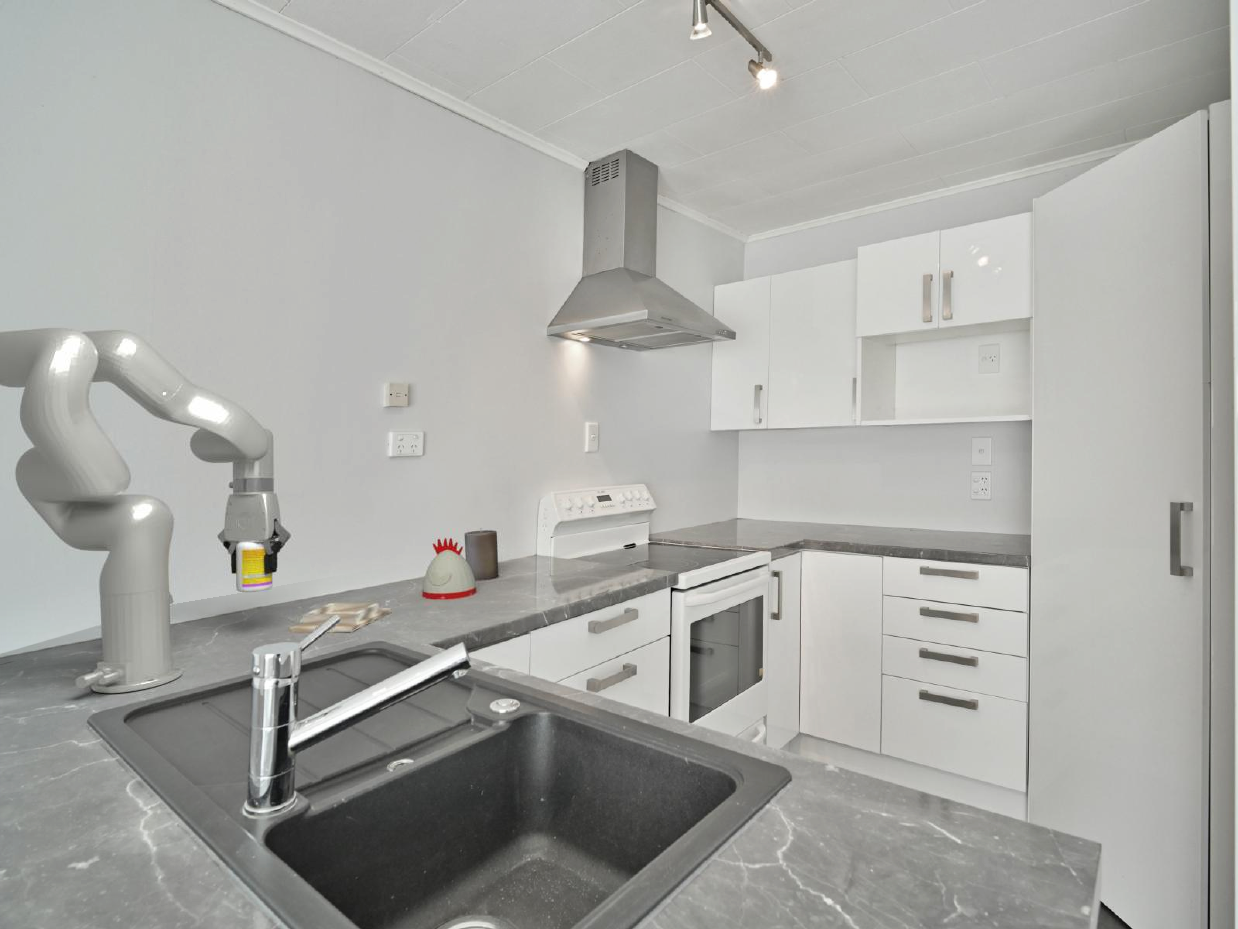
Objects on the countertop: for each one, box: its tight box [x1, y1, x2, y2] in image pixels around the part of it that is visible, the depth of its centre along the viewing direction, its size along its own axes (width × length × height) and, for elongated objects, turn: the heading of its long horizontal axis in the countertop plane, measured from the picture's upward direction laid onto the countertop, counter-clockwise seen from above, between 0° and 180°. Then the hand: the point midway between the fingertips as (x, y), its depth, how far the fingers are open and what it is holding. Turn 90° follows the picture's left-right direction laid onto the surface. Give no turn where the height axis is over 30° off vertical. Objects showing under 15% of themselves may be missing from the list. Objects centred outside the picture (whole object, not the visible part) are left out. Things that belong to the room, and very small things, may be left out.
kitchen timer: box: [421, 537, 477, 601], centre depth 179 cm, size 14×14×15 cm
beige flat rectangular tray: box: [289, 601, 392, 634], centre depth 152 cm, size 18×14×3 cm
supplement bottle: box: [235, 542, 273, 593], centre depth 140 cm, size 7×7×13 cm
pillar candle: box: [464, 527, 500, 581], centre depth 202 cm, size 10×10×15 cm
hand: (254, 572), depth 140 cm, fingers closed on supplement bottle, 6 cm apart
